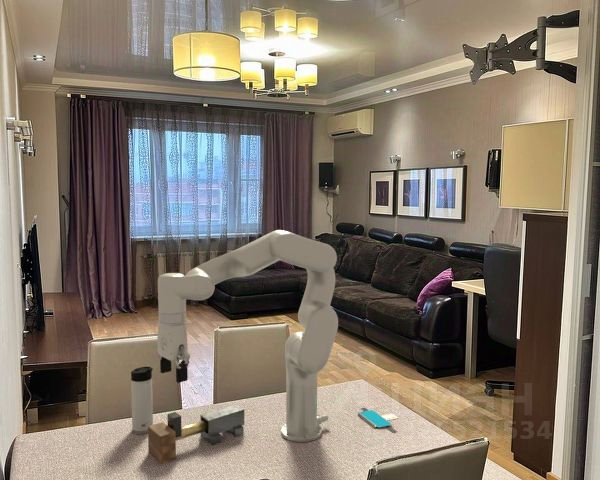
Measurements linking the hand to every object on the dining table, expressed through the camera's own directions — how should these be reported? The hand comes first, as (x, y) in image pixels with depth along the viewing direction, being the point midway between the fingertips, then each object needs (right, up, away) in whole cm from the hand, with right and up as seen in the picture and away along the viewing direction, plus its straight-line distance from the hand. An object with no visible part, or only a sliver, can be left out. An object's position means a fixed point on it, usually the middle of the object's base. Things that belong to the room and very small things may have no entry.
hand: (173, 376), depth 151 cm
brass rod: (+3, -19, +4) cm, 19 cm away
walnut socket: (-3, -22, 0) cm, 23 cm away
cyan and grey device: (+62, -21, +25) cm, 70 cm away
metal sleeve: (+12, -21, +12) cm, 27 cm away
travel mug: (-13, -21, +16) cm, 29 cm away
